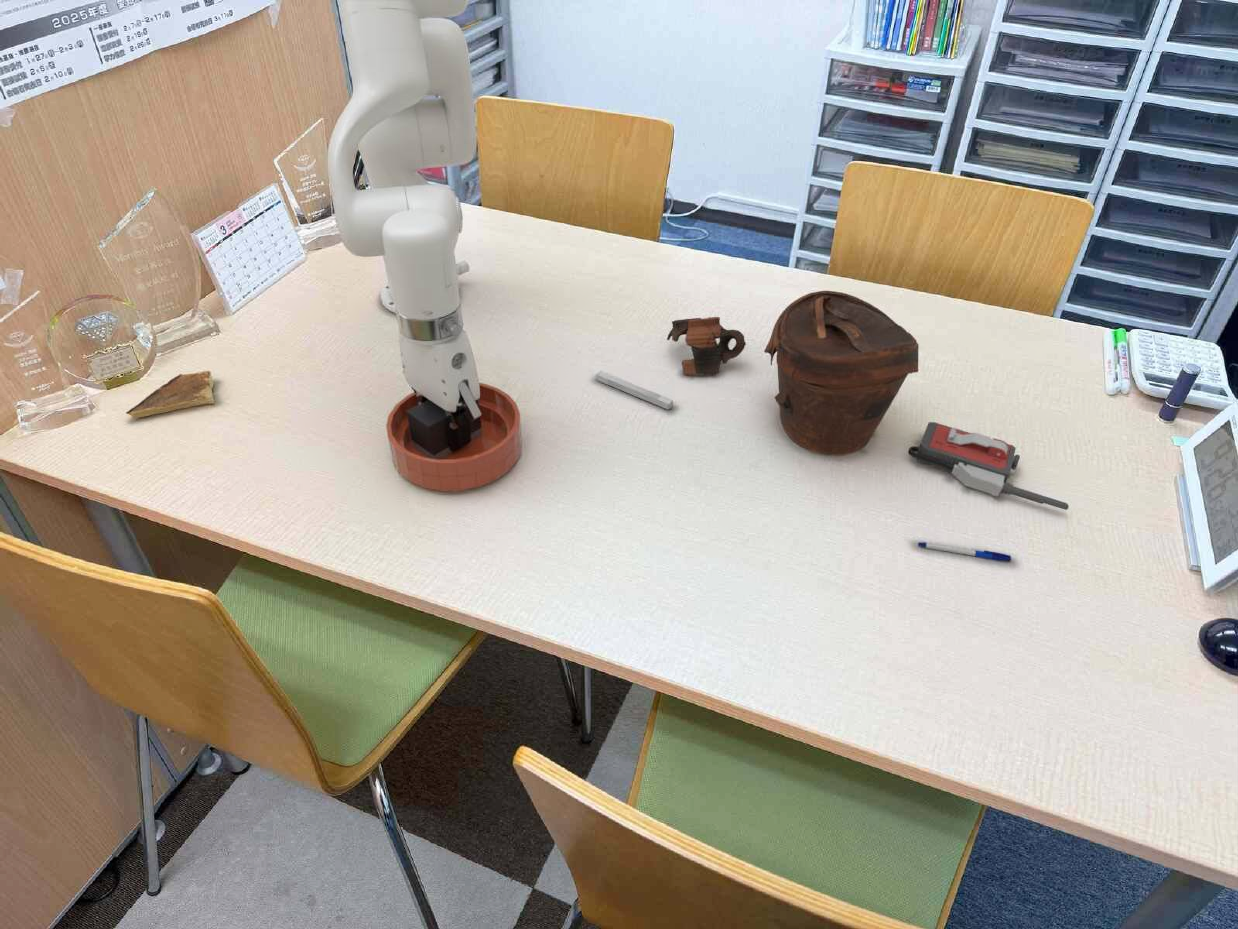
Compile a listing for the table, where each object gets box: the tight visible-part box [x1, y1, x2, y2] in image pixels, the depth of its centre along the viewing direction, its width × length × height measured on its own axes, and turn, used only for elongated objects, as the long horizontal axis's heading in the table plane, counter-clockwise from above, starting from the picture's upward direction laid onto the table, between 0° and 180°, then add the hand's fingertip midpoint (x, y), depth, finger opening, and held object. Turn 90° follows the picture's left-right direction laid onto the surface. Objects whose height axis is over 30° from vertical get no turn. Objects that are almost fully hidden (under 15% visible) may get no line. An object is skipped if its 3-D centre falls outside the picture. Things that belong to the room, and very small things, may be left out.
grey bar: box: [596, 370, 674, 411], centre depth 119 cm, size 12×1×1 cm, turn 56°
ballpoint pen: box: [917, 541, 1012, 562], centre depth 97 cm, size 10×1×1 cm, turn 79°
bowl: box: [385, 382, 523, 492], centre depth 107 cm, size 17×17×6 cm
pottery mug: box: [666, 316, 747, 376], centre depth 125 cm, size 12×10×8 cm
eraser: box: [406, 399, 482, 460], centre depth 107 cm, size 8×5×6 cm, turn 137°
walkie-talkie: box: [907, 421, 1070, 511], centre depth 106 cm, size 9×4×20 cm
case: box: [764, 290, 920, 456], centre depth 109 cm, size 18×20×18 cm
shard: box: [125, 370, 215, 420], centre depth 116 cm, size 11×8×2 cm
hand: (447, 435), depth 109 cm, fingers closed on eraser, 4 cm apart
